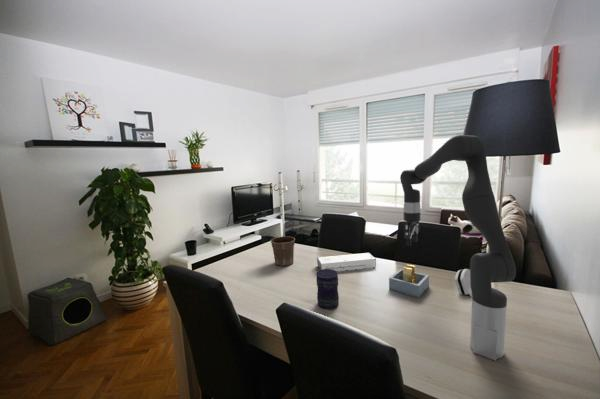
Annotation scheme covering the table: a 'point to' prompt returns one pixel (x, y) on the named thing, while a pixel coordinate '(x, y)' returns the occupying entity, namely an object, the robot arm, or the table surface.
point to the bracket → (409, 274)
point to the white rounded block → (463, 282)
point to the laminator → (347, 262)
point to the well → (409, 284)
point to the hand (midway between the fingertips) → (411, 243)
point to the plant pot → (283, 250)
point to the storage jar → (327, 289)
